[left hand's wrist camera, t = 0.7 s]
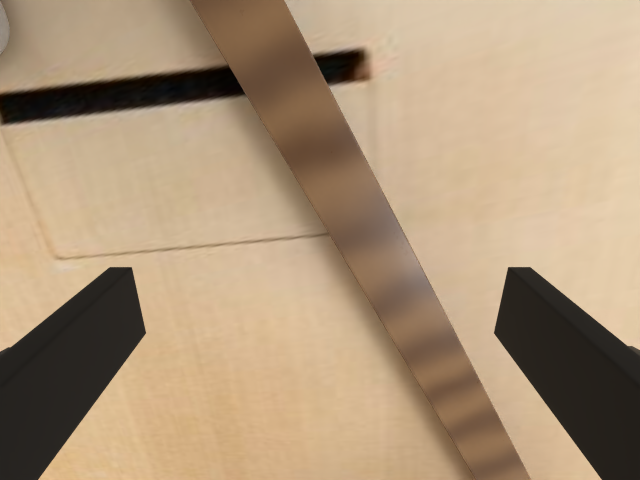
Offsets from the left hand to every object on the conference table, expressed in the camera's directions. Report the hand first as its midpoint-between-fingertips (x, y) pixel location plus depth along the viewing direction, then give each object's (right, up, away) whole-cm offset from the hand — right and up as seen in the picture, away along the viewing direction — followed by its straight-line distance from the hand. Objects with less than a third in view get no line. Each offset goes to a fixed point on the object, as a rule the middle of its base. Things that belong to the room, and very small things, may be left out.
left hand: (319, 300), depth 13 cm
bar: (+9, -4, +25) cm, 27 cm away
